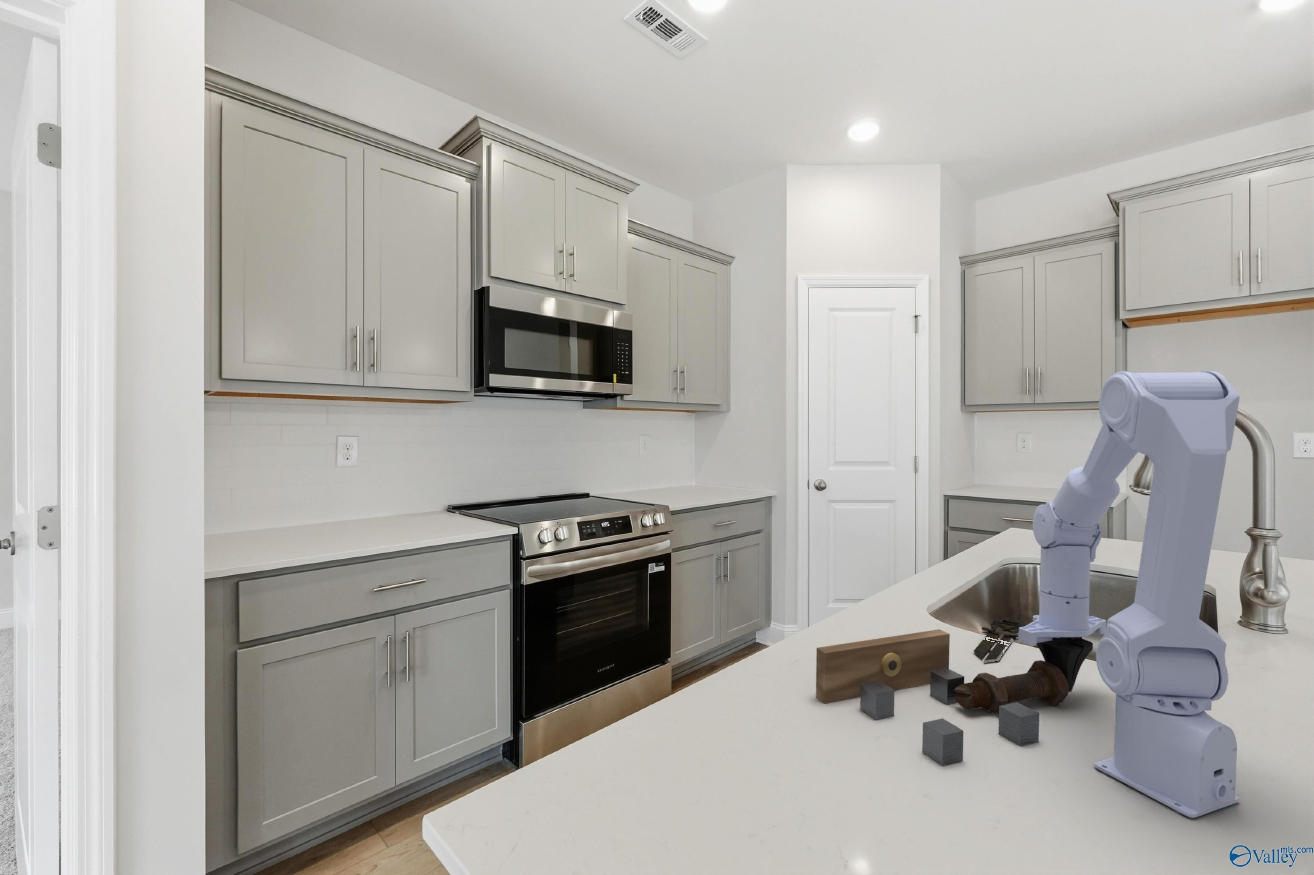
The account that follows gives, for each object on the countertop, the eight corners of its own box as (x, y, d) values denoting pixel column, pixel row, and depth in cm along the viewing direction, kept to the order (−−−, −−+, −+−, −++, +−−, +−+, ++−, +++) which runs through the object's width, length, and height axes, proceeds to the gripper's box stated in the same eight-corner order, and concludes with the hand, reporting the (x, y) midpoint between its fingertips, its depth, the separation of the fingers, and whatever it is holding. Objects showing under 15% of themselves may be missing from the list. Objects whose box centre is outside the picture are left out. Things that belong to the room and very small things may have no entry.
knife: (993, 670, 95) (993, 661, 95) (950, 657, 100) (950, 649, 100) (1036, 630, 113) (1036, 623, 113) (998, 621, 118) (998, 614, 118)
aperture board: (952, 681, 90) (953, 635, 89) (827, 705, 82) (828, 654, 82) (938, 674, 92) (939, 629, 92) (815, 697, 85) (816, 647, 84)
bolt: (957, 722, 81) (1047, 705, 85) (982, 720, 77) (1076, 702, 80) (941, 676, 84) (1029, 662, 87) (965, 671, 79) (1056, 657, 83)
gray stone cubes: (1038, 741, 73) (1039, 713, 73) (942, 765, 68) (943, 735, 68) (946, 692, 86) (947, 668, 86) (860, 709, 81) (860, 683, 81)
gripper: (1072, 580, 90) (1070, 670, 91) (999, 589, 85) (997, 684, 86) (1122, 593, 83) (1120, 690, 84) (1047, 604, 79) (1044, 707, 79)
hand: (1061, 689), depth 84 cm, fingers closed
